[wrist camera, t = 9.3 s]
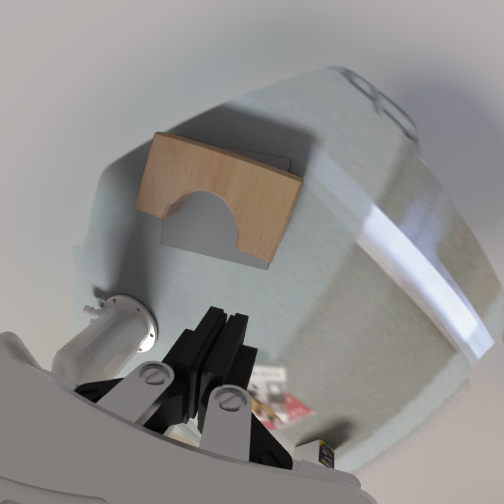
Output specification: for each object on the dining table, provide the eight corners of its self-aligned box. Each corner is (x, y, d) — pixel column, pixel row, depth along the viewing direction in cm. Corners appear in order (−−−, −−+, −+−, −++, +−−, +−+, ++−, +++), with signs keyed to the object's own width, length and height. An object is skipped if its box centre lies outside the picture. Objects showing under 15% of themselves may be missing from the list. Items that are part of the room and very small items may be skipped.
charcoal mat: (163, 242, 44) (161, 243, 43) (175, 141, 39) (173, 141, 38) (267, 268, 42) (267, 270, 41) (290, 159, 37) (290, 159, 36)
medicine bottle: (334, 450, 52) (334, 490, 41) (309, 458, 55) (305, 497, 44) (320, 438, 52) (317, 481, 40) (293, 446, 54) (288, 488, 43)
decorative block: (270, 265, 35) (133, 209, 36) (275, 251, 40) (153, 202, 42) (304, 180, 31) (153, 130, 32) (304, 177, 36) (172, 133, 38)
